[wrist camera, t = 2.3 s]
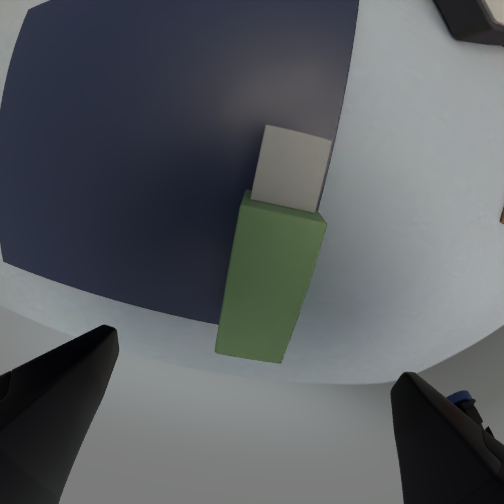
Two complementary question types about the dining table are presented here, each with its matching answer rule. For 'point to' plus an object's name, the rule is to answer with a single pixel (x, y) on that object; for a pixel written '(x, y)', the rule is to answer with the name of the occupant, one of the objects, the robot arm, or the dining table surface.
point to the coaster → (502, 218)
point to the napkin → (156, 135)
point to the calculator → (475, 20)
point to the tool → (274, 246)
